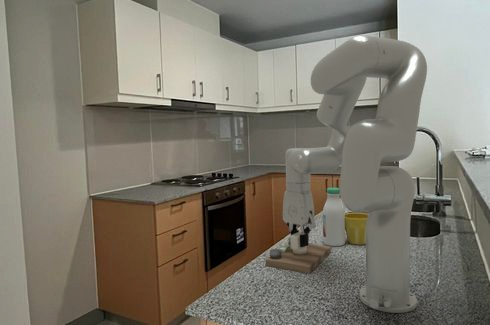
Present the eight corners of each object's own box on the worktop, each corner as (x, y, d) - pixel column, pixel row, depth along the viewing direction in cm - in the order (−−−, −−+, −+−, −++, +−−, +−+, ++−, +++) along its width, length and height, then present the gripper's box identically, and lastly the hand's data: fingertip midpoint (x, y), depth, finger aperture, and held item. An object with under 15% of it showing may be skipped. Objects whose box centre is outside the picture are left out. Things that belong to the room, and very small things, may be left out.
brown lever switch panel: (309, 273, 100) (309, 260, 100) (265, 265, 108) (265, 253, 107) (331, 252, 117) (330, 240, 117) (292, 246, 125) (291, 235, 124)
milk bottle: (349, 242, 127) (348, 187, 126) (338, 248, 122) (337, 190, 120) (330, 238, 132) (329, 186, 131) (319, 244, 127) (318, 188, 125)
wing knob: (300, 256, 108) (300, 237, 108) (288, 254, 111) (287, 235, 110) (312, 248, 115) (312, 230, 115) (300, 246, 118) (300, 229, 117)
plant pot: (342, 237, 134) (342, 211, 133) (371, 238, 131) (371, 212, 130) (342, 245, 124) (342, 218, 123) (373, 247, 121) (373, 219, 120)
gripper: (272, 186, 115) (273, 241, 117) (309, 191, 102) (310, 253, 103) (288, 183, 120) (290, 236, 121) (326, 188, 106) (327, 248, 108)
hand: (299, 244), depth 112 cm, fingers closed on wing knob, 3 cm apart
